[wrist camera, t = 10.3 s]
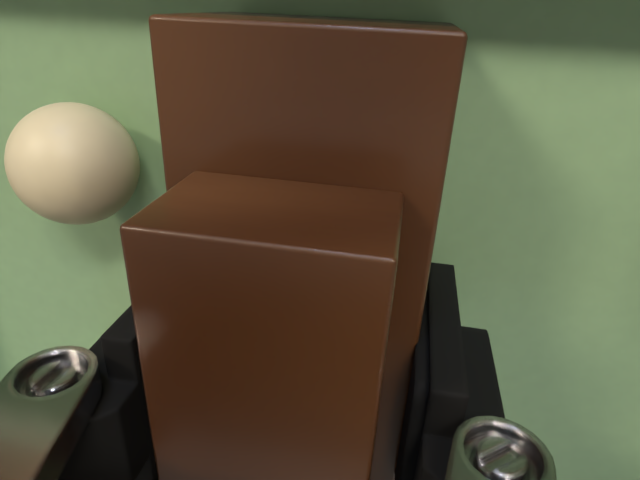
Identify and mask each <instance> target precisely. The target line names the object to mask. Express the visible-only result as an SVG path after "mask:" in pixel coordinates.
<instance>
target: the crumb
mask: <svg viewBox="0 0 640 480" xmlns="http://www.w3.org/2000/svg"><path fill="white" fill-rule="evenodd" d="M4 166H5V172H6V175H7V178H8V181H9V183H10V186H11V187H12V189H13V191H14V192H15V194H16V195H17V197H18V198H19V199H20V200H21V201H22V202H23V203H24V204H25V205H26V206H27V207H28V208H30V209H31V210H32V211H34V212H35V213H37V214H39V215H40V216H42V217H45V218H47V219H49V220H52V221H55V222H58V223H64V224H74V225H81V224H90V223H95V222H98V221H101V220H104V219H106V218H108V217H110V216H112V215H113V214H115V213H116V212H118V211H119V210H120V209H121V208H122V207H123V206H125V205H126V203H127V202H128V201H129V200H130V198H131V197H132V195H133V193H134V191H135V189H136V187H137V184H138V180H139V175H140V160H139V155H138V151H137V148H136V145H135V143H134V141H133V139H132V137H131V136H130V134H129V133H128V132H127V130H126V129H125V128H124V127H123V126H122V125H121V123H119V122H118V121H117V120H116V119H115V118H113V117H112V116H111V115H109V114H108V113H106V112H104V111H102V110H100V109H98V108H96V107H93V106H90V105H87V104H82V103H75V102H58V103H53V104H49V105H45V106H42V107H40V108H38V109H36V110H34V111H32V112H30V113H29V114H27V115H26V116H25V117H23V118H22V119H21V120H20V121H19V122H18V123H17V125H16V126H15V127H14V129H13V130H12V132H11V133H10V136H9V138H8V140H7V143H6V147H5V153H4Z"/></svg>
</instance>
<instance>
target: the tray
mask: <svg viewBox="0 0 640 480" xmlns="http://www.w3.org/2000/svg"><path fill="white" fill-rule="evenodd" d="M202 12H249V13H269V14H289V15H308V16H328V17H348V18H367V19H387V20H407V21H426V22H446V23H452V24H454V25H456V26H457V27H459V28H460V29H461V30H463V31H465V32H466V33H467V36H468V40H467V46H466V52H465V58H464V64H463V70H462V76H461V83H460V89H459V95H458V101H457V107H456V113H455V119H454V126H453V132H452V138H451V144H450V150H449V156H448V163H447V169H446V175H445V181H444V187H443V193H442V199H441V206H440V212H439V218H438V224H437V230H436V236H435V242H434V249H433V255H432V261H431V262H433V263H441V264H449V265H454V270H455V279H456V287H457V296H458V304H459V313H460V321H461V326H465V327H472V328H479V329H486V330H487V331H488V334H489V339H490V344H491V349H492V354H493V359H494V364H495V369H496V374H497V379H498V384H499V389H500V394H501V399H502V404H503V409H504V414H505V418H506V419H508V420H511V421H513V422H516V423H518V424H520V425H522V426H523V427H525V428H527V429H528V430H530V431H531V432H533V433H534V434H535V435H536V436H537V437H538V438H539V439H540V440H541V441H542V442H543V443H544V444H545V445H546V447H547V448H548V450H549V451H550V453H551V455H552V456H553V459H554V463H555V467H556V476H557V480H640V0H0V382H1V380H2V379H3V378H4V377H5V376H6V374H7V373H8V372H9V371H10V370H11V369H12V368H13V367H14V366H15V365H16V364H17V363H19V362H20V361H22V360H23V359H25V358H27V357H28V356H30V355H32V354H35V353H37V352H40V351H42V350H45V349H49V348H53V347H57V346H79V347H84V348H86V349H88V350H89V349H90V348H91V347H92V346H93V344H94V343H95V342H96V341H97V340H98V339H99V338H100V336H101V335H102V334H103V333H104V332H105V331H106V330H107V329H108V328H109V327H110V326H111V325H112V324H113V323H114V322H115V321H116V320H117V319H118V318H119V317H120V316H121V315H122V314H123V313H124V312H125V311H126V310H127V309H128V308H129V307H130V306H131V300H130V294H129V287H128V281H127V274H126V268H125V262H124V255H123V249H122V242H121V236H120V226H121V224H123V223H124V222H125V221H127V220H128V219H129V218H131V217H132V216H134V215H135V214H136V213H138V212H139V211H140V210H142V209H143V208H145V207H146V206H147V205H149V204H150V203H151V202H153V201H154V200H156V199H157V198H158V197H160V196H161V195H162V194H164V193H165V192H166V183H165V174H164V164H163V155H162V145H161V136H160V126H159V117H158V107H157V98H156V88H155V78H154V69H153V59H152V50H151V40H150V31H149V21H148V20H149V16H151V15H153V14H173V13H202ZM58 102H75V103H82V104H87V105H90V106H93V107H96V108H98V109H100V110H102V111H104V112H106V113H108V114H109V115H111V116H112V117H113V118H115V119H116V120H117V121H118V122H119V123H121V125H122V126H123V127H124V128H125V129H126V130H127V132H128V133H129V134H130V136H131V137H132V139H133V141H134V143H135V145H136V148H137V151H138V155H139V160H140V175H139V180H138V184H137V187H136V189H135V191H134V193H133V195H132V197H131V198H130V200H129V201H128V202H127V203H126V205H125V206H123V207H122V208H121V209H120V210H119V211H118V212H116V213H115V214H113V215H112V216H110V217H108V218H106V219H104V220H101V221H98V222H95V223H90V224H81V225H74V224H64V223H58V222H55V221H52V220H49V219H47V218H45V217H42V216H40V215H39V214H37V213H35V212H34V211H32V210H31V209H30V208H28V207H27V206H26V205H25V204H24V203H23V202H22V201H21V200H20V199H19V198H18V197H17V195H16V194H15V192H14V191H13V189H12V187H11V186H10V183H9V181H8V178H7V175H6V172H5V166H4V153H5V147H6V143H7V140H8V138H9V136H10V133H11V132H12V130H13V129H14V127H15V126H16V125H17V123H18V122H19V121H20V120H21V119H22V118H23V117H25V116H26V115H27V114H29V113H30V112H32V111H34V110H36V109H38V108H40V107H42V106H45V105H49V104H53V103H58Z"/></svg>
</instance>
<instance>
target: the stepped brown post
mask: <svg viewBox="0 0 640 480" xmlns="http://www.w3.org/2000/svg"><path fill="white" fill-rule="evenodd" d="M148 21H149V31H150V40H151V50H152V59H153V69H154V78H155V88H156V98H157V107H158V117H159V126H160V136H161V145H162V155H163V164H164V174H165V183H166V192H165V193H164V194H162V195H161V196H160V197H158V198H157V199H156V200H154V201H153V202H151V203H150V204H149V205H147V206H146V207H145V208H143V209H142V210H140V211H139V212H138V213H136V214H135V215H134V216H132V217H131V218H129V219H128V220H127V221H125V222H124V223H123V224H121V226H120V236H121V242H122V249H123V255H124V262H125V268H126V274H127V281H128V287H129V294H130V300H131V306H132V313H133V319H134V326H135V332H136V339H137V345H138V351H139V358H140V364H141V371H142V377H143V383H144V390H145V396H146V403H147V409H148V416H149V422H150V428H151V435H152V441H153V448H154V454H155V460H156V467H157V473H158V480H395V471H396V465H397V458H398V452H399V446H400V440H401V433H402V427H403V421H404V415H405V409H406V402H407V396H408V390H409V384H410V377H411V371H412V365H413V359H414V352H415V346H416V344H417V343H418V341H419V335H420V329H421V322H422V316H423V310H424V304H425V298H426V292H427V285H428V279H429V273H430V267H431V261H432V255H433V249H434V242H435V236H436V230H437V224H438V218H439V212H440V206H441V199H442V193H443V187H444V181H445V175H446V169H447V163H448V156H449V150H450V144H451V138H452V132H453V126H454V119H455V113H456V107H457V101H458V95H459V89H460V83H461V76H462V70H463V64H464V58H465V52H466V46H467V40H468V36H467V33H466V32H465V31H463V30H461V29H460V28H459V27H457V26H456V25H454V24H452V23H446V22H426V21H407V20H387V19H367V18H348V17H328V16H308V15H289V14H269V13H249V12H202V13H173V14H153V15H151V16H149V20H148Z"/></svg>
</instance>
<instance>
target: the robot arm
mask: <svg viewBox="0 0 640 480" xmlns="http://www.w3.org/2000/svg"><path fill="white" fill-rule="evenodd" d="M0 480H158V473H157V467H156V460H155V454H154V448H153V441H152V435H151V428H150V422H149V416H148V409H147V403H146V396H145V390H144V383H143V377H142V371H141V364H140V358H139V351H138V345H137V339H136V332H135V326H134V319H133V313H132V306H130V307H129V308H128V309H127V310H126V311H125V312H124V313H123V314H122V315H121V316H120V317H119V318H118V319H117V320H116V321H115V322H114V323H113V324H112V325H111V326H110V327H109V328H108V329H107V330H106V331H105V332H104V333H103V334H102V335H101V336H100V338H99V339H98V340H97V341H96V342H95V343H94V344H93V346H92V347H91V348H90V349H89V350H88V349H86V348H84V347H79V346H57V347H53V348H49V349H45V350H42V351H40V352H37V353H35V354H32V355H30V356H28V357H27V358H25V359H23V360H22V361H20V362H19V363H17V364H16V365H15V366H14V367H13V368H12V369H11V370H10V371H9V372H8V373H7V374H6V376H5V377H4V378H3V379H2V380H1V382H0ZM395 480H557V476H556V467H555V463H554V459H553V456H552V455H551V453H550V451H549V450H548V448H547V447H546V445H545V444H544V443H543V442H542V441H541V440H540V439H539V438H538V437H537V436H536V435H535V434H534V433H533V432H531V431H530V430H528V429H527V428H525V427H523V426H522V425H520V424H518V423H516V422H513V421H511V420H508V419H506V418H505V414H504V409H503V404H502V399H501V394H500V389H499V384H498V379H497V374H496V369H495V364H494V359H493V354H492V349H491V344H490V339H489V334H488V331H487V330H486V329H479V328H472V327H465V326H461V321H460V313H459V304H458V296H457V287H456V279H455V270H454V265H449V264H441V263H433V262H431V267H430V273H429V279H428V285H427V292H426V298H425V304H424V310H423V316H422V322H421V329H420V335H419V341H418V343H417V344H416V346H415V352H414V359H413V365H412V371H411V377H410V384H409V390H408V396H407V402H406V409H405V415H404V421H403V427H402V433H401V440H400V446H399V452H398V458H397V465H396V471H395Z"/></svg>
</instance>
